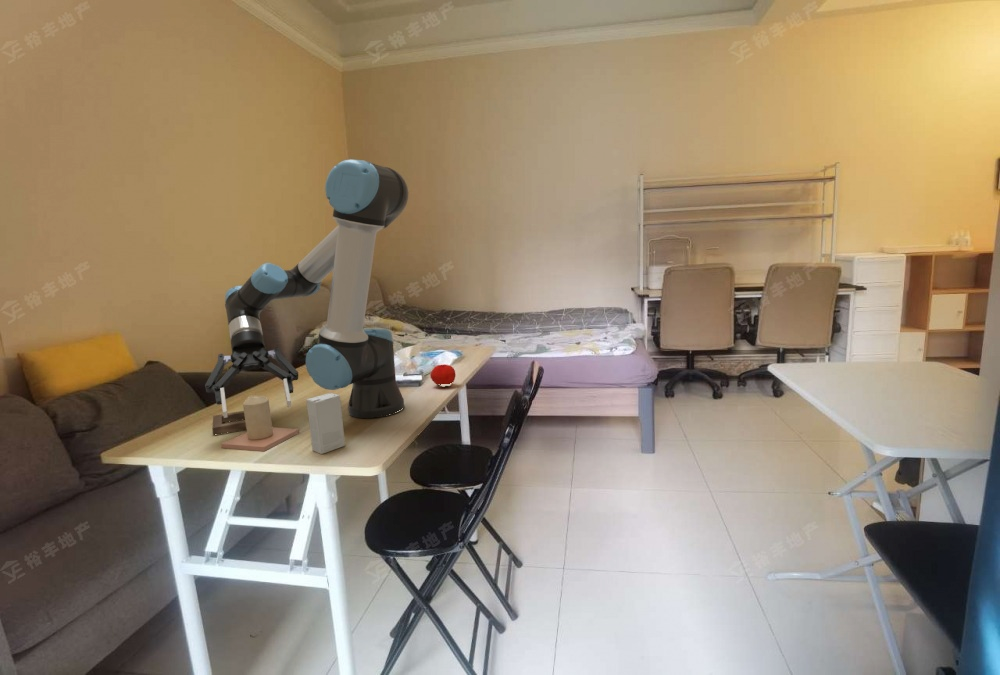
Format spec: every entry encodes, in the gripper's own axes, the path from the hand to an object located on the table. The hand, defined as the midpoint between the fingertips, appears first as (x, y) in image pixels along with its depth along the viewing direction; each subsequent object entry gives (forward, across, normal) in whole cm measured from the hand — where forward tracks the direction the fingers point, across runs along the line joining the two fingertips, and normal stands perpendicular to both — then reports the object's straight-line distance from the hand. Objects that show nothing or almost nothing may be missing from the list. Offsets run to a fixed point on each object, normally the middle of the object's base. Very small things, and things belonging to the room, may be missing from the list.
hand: (258, 409), depth 118 cm
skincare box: (+16, -13, +4) cm, 21 cm away
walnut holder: (-7, +4, -19) cm, 21 cm away
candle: (+4, 0, -6) cm, 7 cm away
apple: (-9, -55, -20) cm, 59 cm away
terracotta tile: (+5, 0, -7) cm, 8 cm away
